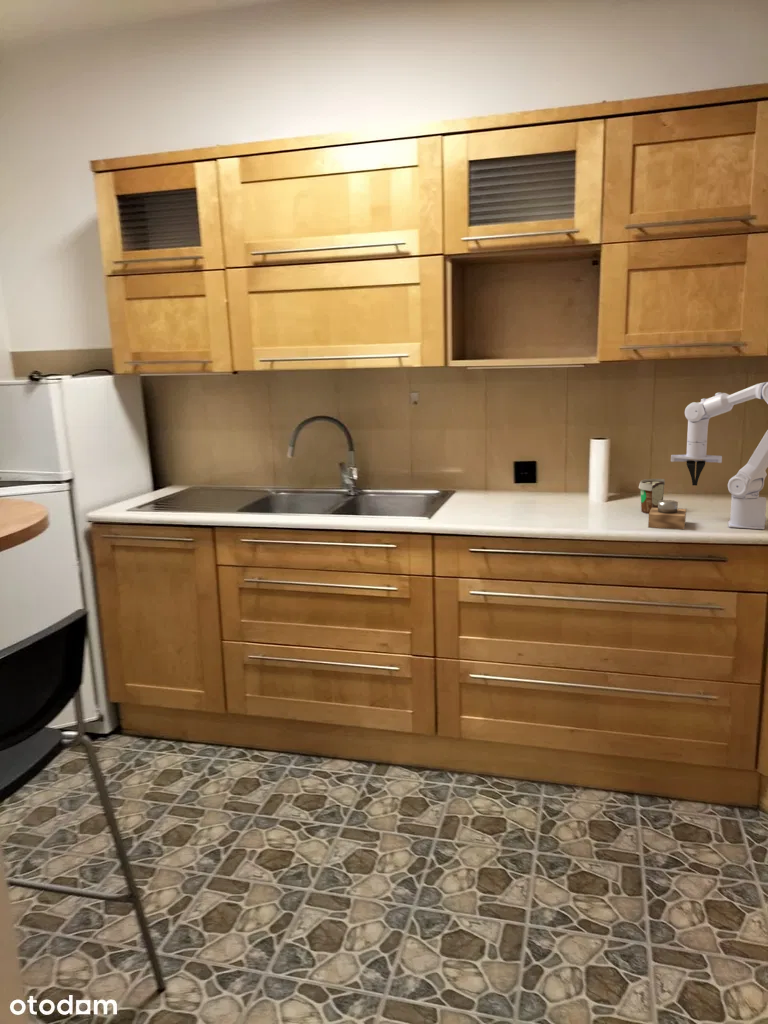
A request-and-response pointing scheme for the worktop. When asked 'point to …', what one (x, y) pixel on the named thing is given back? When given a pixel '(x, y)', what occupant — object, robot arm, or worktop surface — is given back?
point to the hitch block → (667, 519)
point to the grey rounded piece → (667, 506)
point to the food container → (651, 493)
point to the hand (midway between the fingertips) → (694, 484)
